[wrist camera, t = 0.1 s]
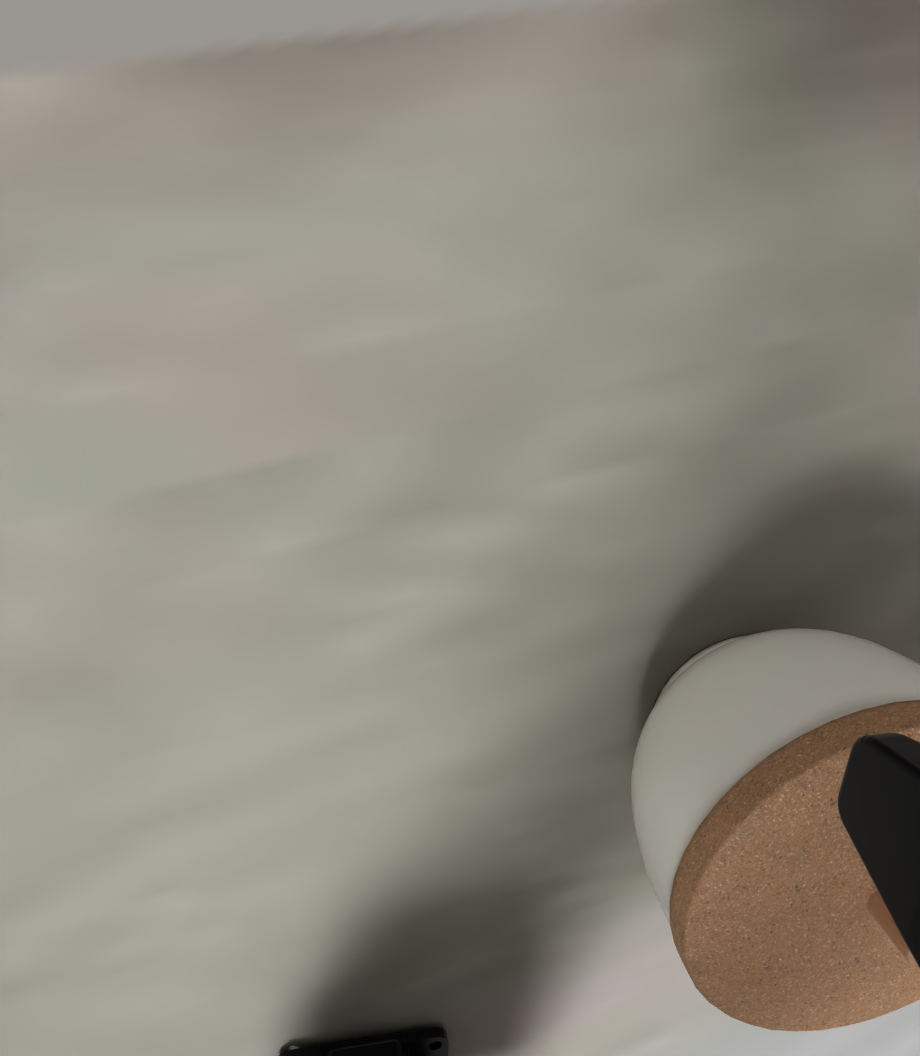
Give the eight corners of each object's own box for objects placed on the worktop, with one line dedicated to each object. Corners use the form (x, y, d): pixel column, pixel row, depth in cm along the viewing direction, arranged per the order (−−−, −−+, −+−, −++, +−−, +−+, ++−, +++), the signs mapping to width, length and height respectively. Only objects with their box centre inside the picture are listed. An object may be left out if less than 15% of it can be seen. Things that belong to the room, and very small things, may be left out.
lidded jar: (825, 823, 30) (1025, 1071, 22) (560, 836, 28) (670, 1119, 20) (920, 574, 26) (1211, 764, 18) (618, 567, 24) (788, 780, 16)
